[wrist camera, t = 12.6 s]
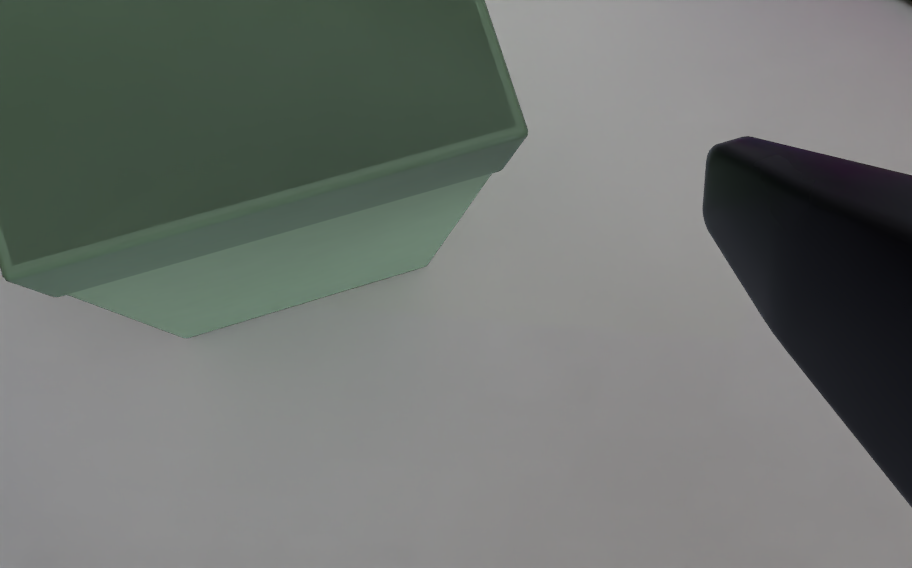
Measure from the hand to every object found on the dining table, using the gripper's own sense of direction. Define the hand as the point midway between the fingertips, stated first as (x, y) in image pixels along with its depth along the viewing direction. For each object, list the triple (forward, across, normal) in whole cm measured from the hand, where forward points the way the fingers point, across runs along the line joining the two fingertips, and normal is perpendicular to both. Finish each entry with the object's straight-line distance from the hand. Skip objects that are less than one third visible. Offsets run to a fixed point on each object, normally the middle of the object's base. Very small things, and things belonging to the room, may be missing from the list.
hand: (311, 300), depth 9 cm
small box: (+8, 0, +4) cm, 9 cm away
